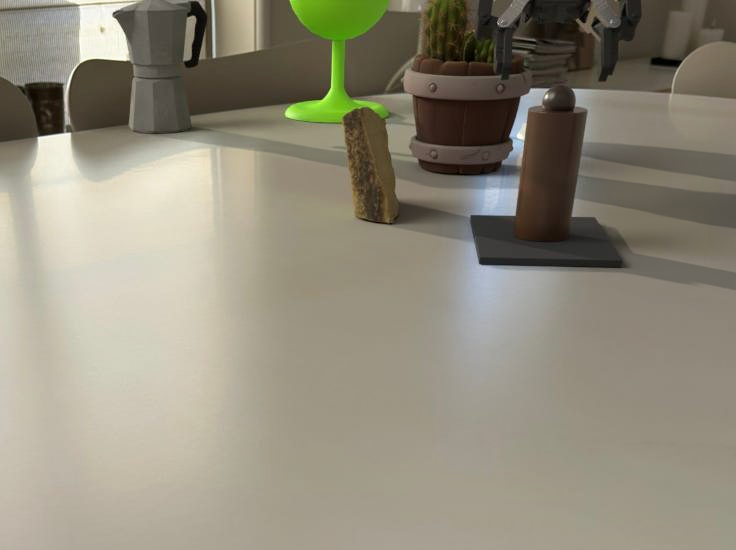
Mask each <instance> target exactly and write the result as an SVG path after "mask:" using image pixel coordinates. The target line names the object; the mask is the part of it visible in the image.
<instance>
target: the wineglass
mask: <svg viewBox="0 0 736 550" xmlns="http://www.w3.org/2000/svg"><path fill="white" fill-rule="evenodd" d="M391 1H392V0H289V3H290V6H291V9H292V11H293V12H294V14H295V16H296V17H297V18H298V21H300V23H301V24H302V25H303V26H304V27H305V28H307V29H308V30H309V31H310V32H311V33H313V34H314V35H317V36H318V37H320V38H323V39H325V40H332V41H331V43H332V46H331V82H330V89H329V91H328V92H327V94H326V95H325V96H324V97H323V98H322V99H319V100H308V101H301V102H297V103H294V104H292V105H290V106H289V107H288V108H287V109H286V110H285V113H284V117H286V118H287V119H291V120H296V121H302V122H310V123H329V124H330V123H331V124H332V123H333V124H339V123H340V124H342V117H343V116H344V115H345V114H347V113H348V112H351V111H352V110H354V109H356V108H358V109H361V108H362V107H369V108H371V109H372V110H373V111H374V112H375V113H377V114H378V115H379V116H380V117H381V118H382V119H385V118H388V117H389V116H390V114H389V110H388V109H387V108H386V107H385V105H382V104H381V103H377V102H373V101H368V100H366V101H365V100H358V99H352V98H351V97H350V96H349V95H348V93H347V91H346V89H345V59H346V40H352V39H354V38H356V37H359V36H361V35H363V34H365V33H367V32H368V31H369V30H370V29H372V28H373V27H374V26H375V25H376V24H377V23H378V22H379V21H380V20H381V18H382V17H383V15H384V14H385V13H386V11H387V10H388V8H389V6H390V3H391Z"/></svg>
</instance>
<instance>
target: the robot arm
mask: <svg viewBox="0 0 736 550" xmlns="http://www.w3.org/2000/svg"><path fill="white" fill-rule="evenodd" d="M613 1H614V2H616V3H617V2H618V9H619V15H617V13H616V12H615V11H614V10H613V8H611V7H610V6H609V2H608V0H512V2H511V4H510V5H509V6H508V8H506V10H504V12H503V13H502V14H501V15H500V16H499V17H498V16H495V15H492V12H493V11H492V9H493V2H497V0H477V8H476V16H475V33H474V37H475V38H476V39H477V40H479V41H483V40H485V39H489V40H491V41H492V42H493V43H494V66H493V70H494V72H495V74H501V76H500V81H508V80H509V76H510V71H511V64H512V54H513V38H514V36H516V34H520V33H521V32H522V31H523V30H524V29H525V28H526V27H527V26H528V25H529V24H530V23H531V22H532V21H533V20H534V21H536V24H549V23H554V22H555V23H560V24H567V25H568V24H571V25H572V24H573V22H574V21H575V22H576V23H577V24H578V25H579V26H580V28H581V29H582V30H583V31H584V32H585V33H586V34H591V35H592V36H593V38H595V40H597V42H598V46H597V69H596V70H597V71H596V72H597V73H596V76H597V77H596V82H598V83H606V82H607V80H608V77H609V76H613V74H614V72H615V70H616V68H617V67H616V66H617V64H618V61H619V42H620V41H624V42H626V43H627V42H628V43H629V42H632V41H633V40H634V39H635V37H636V33H637V29H638V26H639V23H640V22H641V20H642V17H643V12H642V0H613Z"/></svg>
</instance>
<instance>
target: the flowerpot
mask: <svg viewBox="0 0 736 550" xmlns="http://www.w3.org/2000/svg"><path fill="white" fill-rule="evenodd" d="M473 1H474V0H426V1H425V2H424V5H426V4H427V5H426V7H424V8H423V7H421V9H422V10H418V11H417V12H419V13H420V12H421V13H420V14H421V15H420V17H421V18H419V19H418V21H420V20H421V21H420V23H421V25H420V28H421V29H422V30H419V31H418V32H417V34H419V33H420V34H419V35H418V36H417V37H419V38H420V39H421V40H420V42H419V43H421V42H422V43H421V44H420V45H421V47H422V48H423V49H422V50H421V52H422V53H418V54H416V55H415V56H414V59H413V64H412V66H410V67H408V68H406V69H405V71H404V76H402V78H400V83H401V84H402V85H403V90H404V92H405V93H406V94H409V95H412V109H413V115H414V116H413V117H414V124H415V133H416V134H414V135H413V136H411V138H410V139H409V141H410V143H409V144H408V148H409V150H411V154H412V156H413V157H414V158H416V159H417V160H418V161H417V162H418V165H419V167H421V168H422V169H424V170H426V171H428V172H433V173H439V174H440V173H441V174H458V173H459V175H479V174H481V173H482V174H483V173H485V174H487V173H490V172H492V171H493V170H495V171H496V170H499V169H501V167H502V164H503V161H504V160H507V158H508V157H509V156H510V153H512V152H514V151H513V150H514V146H513V145H514V140H513V138H511V137H510V135H511V132H512V130H513V128H514V125H515V122H516V118H517V115H518V111H519V108H520V103H521V98H522V97H523V96H525V95H528V94H529V93H530V91H531V88H532V86H533V85H534V83H535V80H534V79H533V73H532V70H531V69H528V68H526V67H525V59H524V56H523V55H522V54H520V53H512V64H511V71H510V76H509V80H508V81H500V76H501V74H495V72H494V70H493V66H494V43H493V42H492V41H491V40H489V39H485V40H483V41H479V40H477V39H476V38H475V37H474V33H475V24H476V20H475V19H470V16H469V15H471V16H473V15H472V12H471V11H474V12H476V10H475V9H470V8H471V7H472V5H471V4H472V3H471V2H473ZM468 14H469V15H468ZM471 22H472V23H471ZM423 25H424V26H423ZM423 44H426V46H425V45H423Z"/></svg>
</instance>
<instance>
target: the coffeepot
mask: <svg viewBox="0 0 736 550" xmlns="http://www.w3.org/2000/svg"><path fill="white" fill-rule="evenodd" d="M111 16H112V18H113V19H115V20H116V22H117V23H118V24H119V26H120V28H121V30H122V32H123V33H124V35H125V41H126V46H127V51H128V57H129V61H130V63H131V64H132V68H133V76H134V77H133V79H131V80H132V81H131V92H130V103H129V104H130V107H129V118H128V127H129V129H130V130H131V131H132V132H136V133H142V134H173V133H181V132H185V131H188V130H190V129H191V128H192V127H193V125H192V119H191V115H190V108H189V103H188V98H187V94H186V87H185V83H184V79H183V77H182V76H181V75H182V69H181V63H183V65H184V67H185V68H186V69H193V68H196V67H197V66H198V64H199V62H200V61H199V60H200V56H201V51H202V47H203V42H204V38H205V37H204V36H205V32H206V28H207V24H208V14H207V12H206V10H205V9H204V8H203V6H202V4H201V3H200V1H198V0H188V1H184V2H183V1H181V2H175V3H174V2H170V1H168V0H140V1H137V2H135V3H132V4H129V5H125V6H123V7H120V8H119V9H116V10H115V11H113V12H112V14H111ZM190 17H194V18H195V24H194V29H193V31H194V32H193V33H194V34H193V40H192V43H191V57H190V59H188V60H184V55H185V45H186V44H185V43H186V35H187V34H186V33H187V22H188V18H190Z"/></svg>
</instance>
